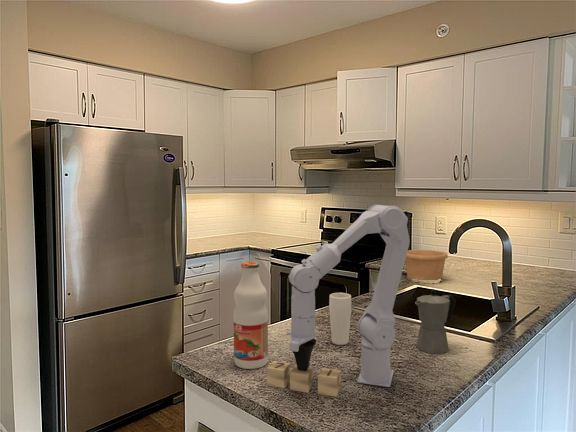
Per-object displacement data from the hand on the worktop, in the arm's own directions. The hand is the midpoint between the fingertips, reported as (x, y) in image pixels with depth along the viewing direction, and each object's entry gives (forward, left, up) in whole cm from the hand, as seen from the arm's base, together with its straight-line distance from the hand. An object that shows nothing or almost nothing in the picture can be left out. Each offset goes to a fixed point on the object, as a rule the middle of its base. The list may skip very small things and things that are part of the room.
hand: (302, 369), depth 106 cm
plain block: (0, 0, -4) cm, 4 cm away
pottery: (-132, +24, -5) cm, 135 cm away
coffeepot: (-37, +30, -5) cm, 48 cm away
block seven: (0, -6, -4) cm, 8 cm away
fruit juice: (-9, -18, -5) cm, 20 cm away
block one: (0, +7, -4) cm, 8 cm away
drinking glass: (-32, +2, -4) cm, 32 cm away
